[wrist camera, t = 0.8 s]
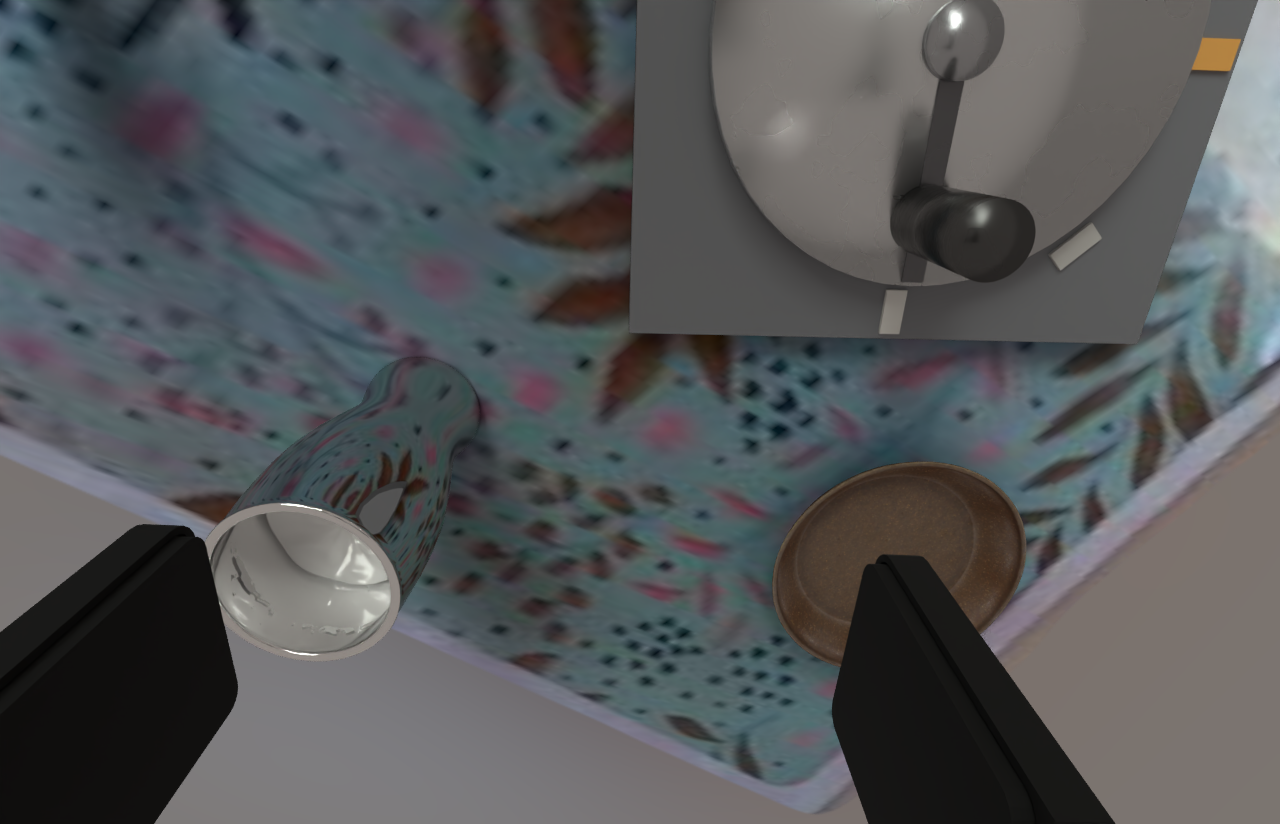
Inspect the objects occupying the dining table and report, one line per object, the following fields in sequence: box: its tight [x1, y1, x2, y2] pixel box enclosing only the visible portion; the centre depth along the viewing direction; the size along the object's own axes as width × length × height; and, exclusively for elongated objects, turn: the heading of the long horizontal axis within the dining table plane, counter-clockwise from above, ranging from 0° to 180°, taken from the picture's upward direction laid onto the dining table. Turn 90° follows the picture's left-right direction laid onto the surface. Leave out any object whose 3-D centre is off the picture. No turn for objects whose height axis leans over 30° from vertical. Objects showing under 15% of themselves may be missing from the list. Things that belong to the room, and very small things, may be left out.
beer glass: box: [205, 357, 480, 661], centre depth 29 cm, size 7×7×15 cm
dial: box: [709, 0, 1211, 286], centre depth 24 cm, size 20×20×7 cm
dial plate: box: [629, 0, 1258, 344], centre depth 28 cm, size 26×26×2 cm
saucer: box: [772, 462, 1026, 667], centre depth 39 cm, size 15×15×3 cm
